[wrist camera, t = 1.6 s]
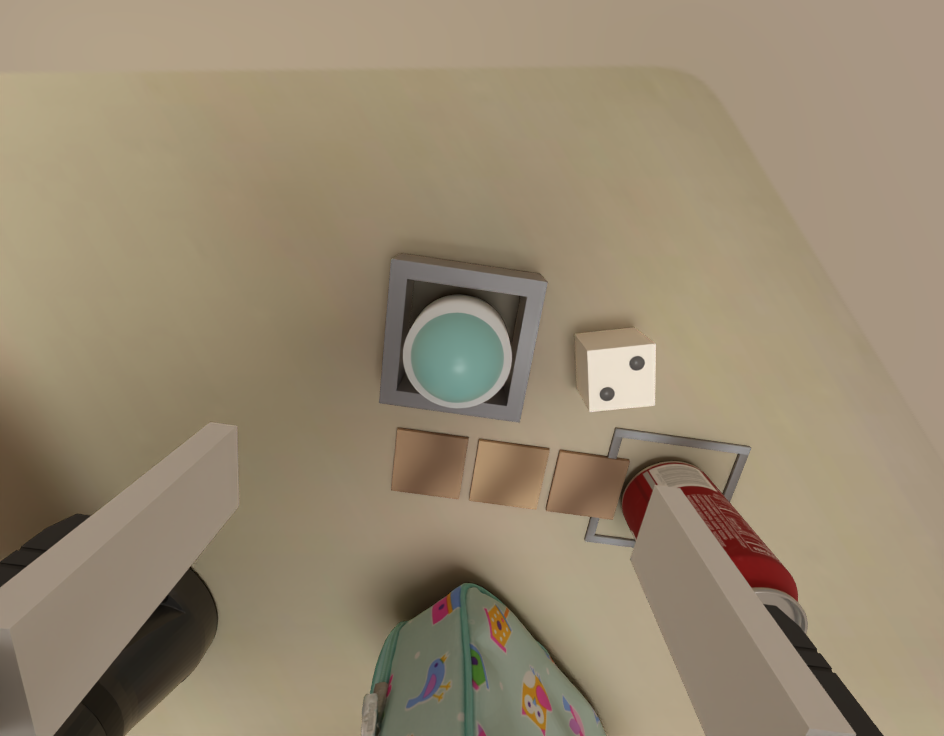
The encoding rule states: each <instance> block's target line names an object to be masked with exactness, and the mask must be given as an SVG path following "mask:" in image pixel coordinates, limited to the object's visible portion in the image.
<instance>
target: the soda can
mask: <svg viewBox="0 0 944 736" xmlns="http://www.w3.org/2000/svg"><path fill="white" fill-rule="evenodd" d="M655 485H660V486H667V487H674V488H680V489H681V490H682V492H683V493H684V494H685V496H686V497H687V499H688V500H689V501H690V503H691V504H692V506H693V507H694V508H695V510H696V511H697V513H698V514H699V515H700V517H701V518H702V520H703V521H704V522H705V524H706V525H707V527H708V528H709V529H710V531H711V532H712V534H713V535H714V536H715V538H716V539H717V541H718V542H719V543H720V545H721V546H722V548H723V549H724V550H725V552H726V553H727V554H728V556H729V557H730V559H731V560H732V561H733V563H734V564H735V566H736V567H737V568H738V570H739V571H740V573H741V574H742V575H743V577H744V578H745V580H746V581H747V582H748V584H749V585H750V587H751V588H752V589H753V591H754V592H755V594H756V595H757V596H758V598H759V599H760V601H761V602H762V603H763V604H768V605H775V606H777V607H778V608H779V609H780V610H782V611H783V612H784V613H785V614H786V615H787V616H788V617H790V618H791V619H792V620H793V621H794V622H795V623H796V624H798V625H799V626H800V627H801V629H802V630H803V631H804V633H805V634H806V632H807V627H808V622H807V617H806V614H805V612H804V610H803V608H802V607H801V606H800V604H799V603H798V592H797V587H796V584H795V581H794V579H793V577H792V576H791V574H790V573H789V572H788V570H787V569H786V568H785V567H784V566H783V565H782V563H781V562H780V561H779V560H778V559H777V557H776V556H775V555H774V554H773V553H772V552H771V550H770V549H769V548H768V547H767V546H766V545H765V543H764V542H763V541H762V540H761V539H760V538H759V536H758V535H757V534H756V533H755V532H754V530H753V529H752V528H751V527H750V526H749V525H748V523H747V522H746V521H745V520H744V519H743V518H742V516H741V515H740V514H739V513H738V512H737V511H736V509H735V508H734V507H733V506H732V505H731V503H730V502H729V501H728V500H727V499H726V498H725V496H724V495H723V494H722V493H721V492H720V491H719V489H718V488H717V487H716V486H715V485H714V483H713V482H712V481H711V480H710V479H709V478H708V476H707V475H706V474H705V473H704V472H703V471H702V470H700V469H699V468H697V467H696V466H694V465H691V464H689V463H685V462H680V461H667V462H661V463H657V464H654V465H651V466H649V467H647V468H645V469H643V470H642V471H640V472H639V473H638V474H637V475H635V476H634V477H633V478H632V480H631V481H630V482H629V483H628V485H627V487H626V488H625V491H624V493H623V497H622V512H623V515H624V517H625V520H626V522H627V524H628V526H629V528H630V530H631V532H632V535H633V537H634V539H635V541H636V540H637V537H638V534H639V531H640V528H641V525H642V522H643V519H644V516H645V513H646V510H647V507H648V504H649V501H650V498H651V495H652V492H653V489H654V486H655Z"/></svg>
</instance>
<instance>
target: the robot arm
mask: <svg viewBox="0 0 944 736" xmlns="http://www.w3.org/2000/svg"><path fill="white" fill-rule="evenodd" d="M238 507H239V475H238V432H237V426H236V425H229V424H222V423H215V422H209V423H208V424H207V425H206V426H204V427H203V428H202V429H201V430H199V431H198V432H197V433H195V434H194V435H193V436H192V437H190V438H189V439H188V440H187V441H185V442H184V443H183V444H182V445H180V446H179V447H178V448H176V449H175V450H174V451H173V452H171V453H170V454H169V455H168V456H166V457H165V458H164V459H163V460H161V461H160V462H159V463H157V464H156V465H155V466H154V467H152V468H151V469H150V470H149V471H147V472H146V473H145V474H143V475H142V476H141V477H140V478H138V479H137V480H136V481H135V482H133V483H132V484H131V485H130V486H128V487H127V488H126V489H124V490H123V491H122V492H121V493H119V494H118V495H117V496H116V497H114V498H113V499H112V500H111V501H109V502H108V503H107V504H105V505H104V506H103V507H102V508H100V509H99V510H98V511H97V512H95V513H94V514H93V515H92V516H90V515H82V514H76V515H73V516H71V517H69V518H67V519H65V520H63V521H61V522H58V523H56V524H54V525H52V526H50V527H48V528H46V529H44V530H43V531H42V532H40V533H39V534H38V535H36V536H35V537H34V538H32V539H31V540H29V541H28V542H27V543H25V544H24V545H23V546H21V549H20V550H19V551H17V550H16V551H15V552H13V553H12V554H10V555H9V556H8V557H6V558H5V559H4V560H2V561H1V562H0V736H125V735H126V734H127V733H128V732H129V731H130V730H131V729H132V728H133V727H134V726H135V725H136V724H137V723H138V722H139V721H140V720H141V719H143V718H144V717H145V716H146V715H147V714H148V713H149V712H150V711H151V710H152V709H153V708H155V707H156V706H157V705H158V704H159V703H160V702H161V701H162V700H163V699H164V698H165V697H166V696H167V695H168V694H169V693H171V692H172V691H173V690H174V689H175V688H176V687H177V686H178V685H179V684H180V683H181V682H183V681H184V680H185V679H186V678H187V677H188V676H189V675H190V674H191V673H192V672H193V671H194V669H195V668H196V667H197V665H198V664H199V662H200V661H201V659H202V657H203V656H204V654H205V653H206V651H207V649H208V648H209V646H210V645H211V643H212V641H213V639H214V636H215V633H216V629H217V613H216V609H215V605H214V602H213V600H212V597H211V595H210V593H209V592H208V590H207V588H206V587H205V585H204V584H203V583H202V581H201V580H200V579H199V578H198V577H197V576H196V574H195V573H194V572H193V571H192V570H190V569H189V567H190V566H191V565H192V564H193V563H194V561H195V560H196V559H197V558H198V556H199V555H200V554H201V553H202V551H203V550H204V549H205V548H206V546H207V545H208V544H209V543H210V542H211V540H212V539H213V538H214V537H215V535H216V534H217V533H218V532H219V530H220V529H221V528H222V527H223V526H224V524H225V523H226V522H227V521H228V519H229V518H230V517H231V516H232V514H233V513H234V512H235V511H236V509H237V508H238ZM630 560H631V563H632V565H633V567H634V570H635V572H636V574H637V577H638V579H639V581H640V584H641V586H642V588H643V591H644V593H645V595H646V598H647V600H648V602H649V605H650V607H651V609H652V612H653V614H654V616H655V619H656V621H657V623H658V626H659V628H660V630H661V633H662V635H663V637H664V640H665V642H666V644H667V647H668V649H669V651H670V654H671V656H672V658H673V661H674V663H675V665H676V668H677V670H678V672H679V675H680V677H681V679H682V682H683V684H684V686H685V689H686V691H687V693H688V696H689V698H690V700H691V703H692V705H693V707H694V710H695V712H696V714H697V717H698V719H699V721H700V724H701V726H702V728H703V731H704V733H705V735H706V736H883V734H882V733H881V732H880V731H879V729H878V728H877V727H876V725H875V724H874V723H873V721H872V720H871V719H870V718H869V716H868V715H867V714H866V712H865V711H864V710H863V708H862V707H861V706H860V704H859V703H858V702H857V701H856V699H855V698H854V697H853V695H852V694H851V693H850V691H849V690H848V689H847V687H846V686H845V685H844V684H843V682H842V681H841V680H840V678H839V677H838V676H837V674H836V673H833V672H832V670H831V669H832V668H831V667H830V665H829V664H828V663H827V661H826V660H825V659H824V657H823V656H822V655H821V654H820V653H817V648H816V647H815V646H814V644H813V643H812V642H811V641H810V639H809V638H808V637H807V635H806V634H805V633H804V631H803V630H802V629H801V627H800V626H799V625H798V624H796V623H795V622H794V621H793V620H792V619H791V618H790V617H788V616H787V615H786V614H785V613H784V612H783V611H782V610H780V609H779V608H778V607H777V606H775V605H768V604H763V603H762V602H761V601H760V599H759V598H758V596H757V595H756V594H755V592H754V591H753V589H752V588H751V587H750V585H749V584H748V582H747V581H746V580H745V578H744V577H743V575H742V574H741V573H740V571H739V570H738V568H737V567H736V566H735V564H734V563H733V561H732V560H731V559H730V557H729V556H728V554H727V553H726V552H725V550H724V549H723V548H722V546H721V545H720V543H719V542H718V541H717V539H716V538H715V536H714V535H713V534H712V532H711V531H710V529H709V528H708V527H707V525H706V524H705V522H704V521H703V520H702V518H701V517H700V515H699V514H698V513H697V511H696V510H695V508H694V507H693V506H692V504H691V503H690V501H689V500H688V499H687V497H686V496H685V494H684V493H683V492H682V490H681V489H680V488H674V487H667V486H660V485H655V486H654V489H653V492H652V495H651V498H650V501H649V504H648V507H647V510H646V513H645V516H644V519H643V522H642V525H641V528H640V531H639V534H638V537H637V540H636V543H635V546H634V549H633V552H632V555H631V558H630Z"/></svg>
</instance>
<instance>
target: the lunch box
mask: <svg viewBox="0 0 944 736" xmlns="http://www.w3.org/2000/svg"><path fill="white" fill-rule="evenodd" d="M361 736H606V734H605V731H604V729H603V727H602V724H601V722H600V720H599V718H598V716H597V714H596V712H595V711H594V709H593V708H592V707H591V705H590V704H589V703H588V701H587V700H586V699H585V698H584V696H583V695H582V694H581V693H580V692H579V691H578V690H577V688H576V687H575V686H574V685H573V684H572V683H571V682H570V681H569V680H568V678H567V677H566V676H565V675H564V674H563V673H562V672H561V671H560V670H559V669H558V667H557V666H556V664H555V663H554V662H553V660H552V659H551V657H550V654H549V653H548V652H547V650H546V649H545V648H544V647H543V646H542V645H541V644H540V643H539V642H537V641H536V640H535V639H534V638H533V637H532V636H531V634H530V633H529V632H528V631H527V629H526V628H525V627H524V626H523V624H522V623H521V622H520V621H519V620H518V618H517V617H516V616H515V615H514V614H513V613H512V612H511V611H510V610H509V609H508V608H507V607H506V606H505V605H504V604H503V603H502V602H501V601H500V600H499V599H498V598H496V597H495V596H494V595H492V594H491V593H490V592H488V591H487V590H485V589H484V588H482V587H480V586H478V585H476V584H472V583H463V584H462V585H460V586H459V587H457V588H455V589H454V590H453V591H452V592H450V593H449V594H448V595H447V596H446V597H444V598H442V599H441V600H439V601H438V602H437V603H435V604H434V605H433V606H431V607H430V608H428V609H427V610H425V611H423V612H422V613H421V614H419V615H418V616H416V617H415V618H413V619H411V620H410V621H403V622H400V623H399V624H398V625H397V626H396V627H395V628H394V629H393V630H392V631H391V633H390V634H389V636H388V637H387V639H386V640H385V643H384V645H383V647H382V650H381V653H380V655H379V658H378V661H377V664H376V668H375V672H374V676H373V680H372V686H371V691H370V694H366V695H365V697H364V700H363V708H362V726H361Z"/></svg>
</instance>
